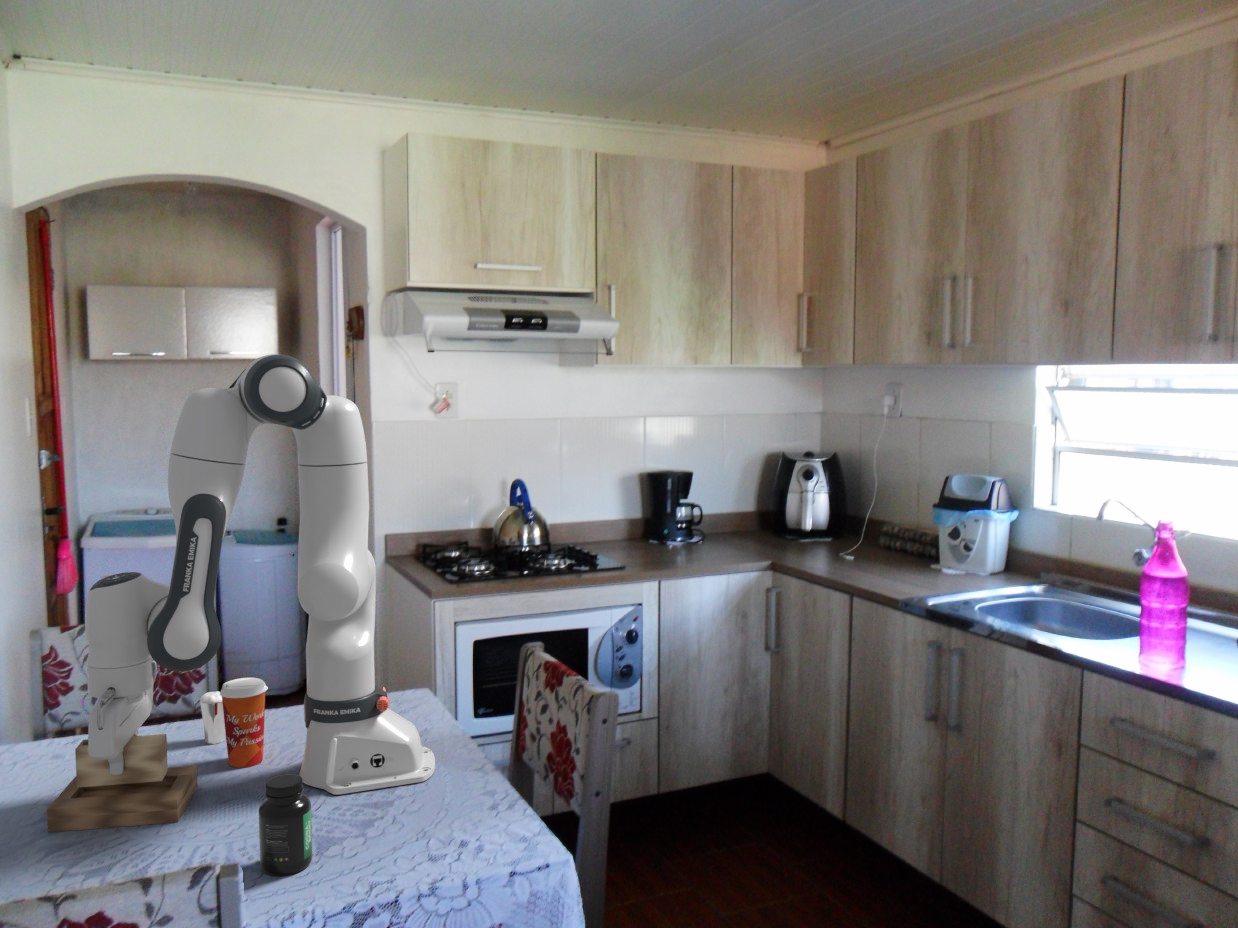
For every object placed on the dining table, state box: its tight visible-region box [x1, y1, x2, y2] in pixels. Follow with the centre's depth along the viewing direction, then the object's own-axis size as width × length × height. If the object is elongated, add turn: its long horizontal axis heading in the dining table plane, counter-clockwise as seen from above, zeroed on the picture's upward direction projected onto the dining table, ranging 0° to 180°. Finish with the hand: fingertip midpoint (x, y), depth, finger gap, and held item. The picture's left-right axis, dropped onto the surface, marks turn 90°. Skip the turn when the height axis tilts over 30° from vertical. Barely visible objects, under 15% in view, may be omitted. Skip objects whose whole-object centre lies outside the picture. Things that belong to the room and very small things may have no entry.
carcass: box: [46, 765, 199, 833], centre depth 153 cm, size 18×13×4 cm
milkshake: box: [199, 691, 226, 745], centre depth 181 cm, size 4×5×10 cm
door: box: [74, 733, 169, 788], centre depth 152 cm, size 12×4×6 cm, turn 103°
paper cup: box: [219, 677, 269, 769], centre depth 171 cm, size 8×8×14 cm
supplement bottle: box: [258, 773, 313, 877], centre depth 135 cm, size 7×7×12 cm
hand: (123, 765), depth 153 cm, fingers closed on door, 4 cm apart
